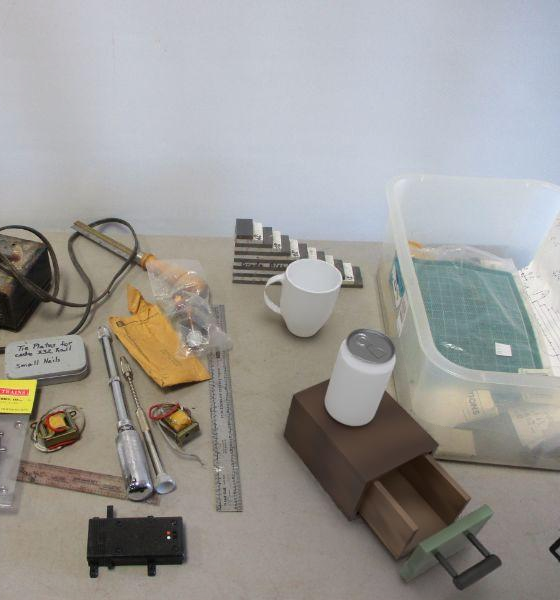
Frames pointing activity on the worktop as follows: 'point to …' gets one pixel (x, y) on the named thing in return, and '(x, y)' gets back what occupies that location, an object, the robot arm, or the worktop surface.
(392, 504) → the drawer
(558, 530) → the robot arm
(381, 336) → the can
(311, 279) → the mug
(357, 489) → the cabinet
